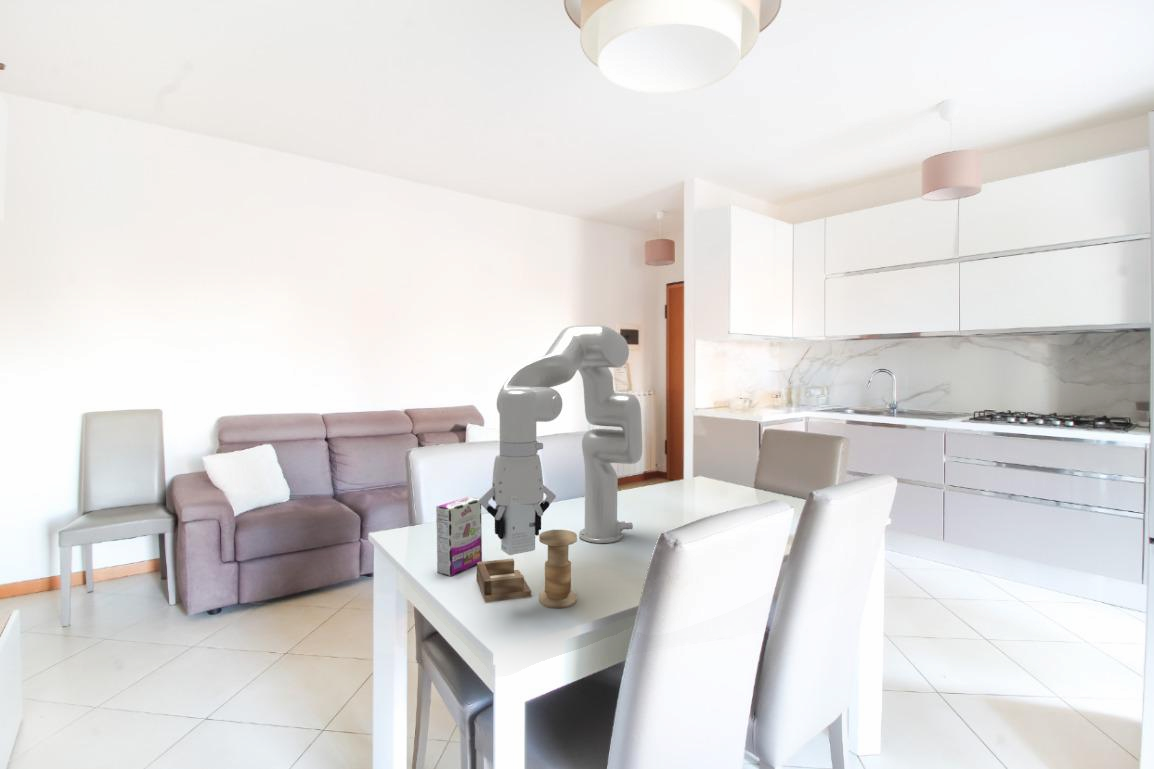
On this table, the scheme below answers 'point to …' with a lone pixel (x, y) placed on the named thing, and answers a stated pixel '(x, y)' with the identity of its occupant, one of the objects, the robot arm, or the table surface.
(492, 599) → the wooden u-shaped holder
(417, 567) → the table surface
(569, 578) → the bobbin
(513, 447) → the robot arm
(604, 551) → the table surface
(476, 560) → the candy bar box
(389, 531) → the table surface
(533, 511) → the skincare box
